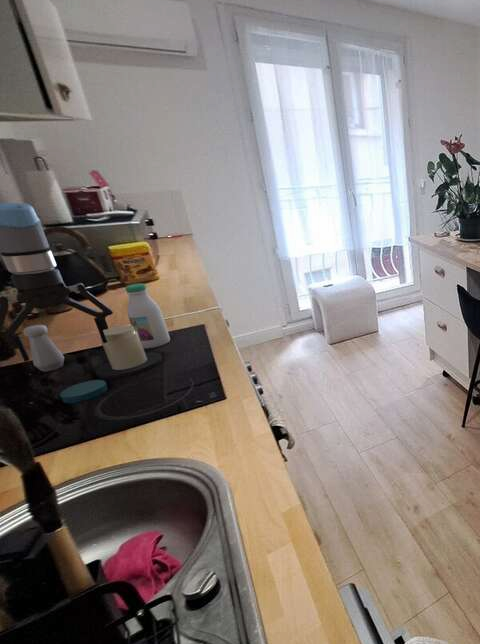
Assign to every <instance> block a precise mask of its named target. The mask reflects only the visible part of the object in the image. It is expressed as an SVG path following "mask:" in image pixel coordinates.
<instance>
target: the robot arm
mask: <svg viewBox="0 0 480 644" xmlns="http://www.w3.org/2000/svg"><path fill="white" fill-rule="evenodd" d="M41 222H42V221H41V219H40V218H39V217H38V215H37V213H36V211H35V209H34V207H33V206H32V205H30V204H28V203H21V202H18V203H16V202H15V203H14V202H8V203H7V202H6V203H0V255H1V257H2V259H3V262H4V264H5V266H6V268H7V271H8V272H9V273H11V275H10V277H11V280H12V282H13V284H14V287H15V289H16V291H17V293H16V294H3V293H1V294H0V338H4V339H6V342H7V344H8V347H9V348H10V349H11V350H17V349H18V350H19V352H20V354H21V356H22V359H23V361H24V362H28V361H30V355H29V353H28V351H27V349H26V347H25V345H24V342H23V340H22V338H21V336H20V333H19V332H17V331H18V330H19V328H20V327H21V326H22V324H23V323H24V322H25V320H26V319H27V318H28V317H29V315H30V314H31V313H32V312H33V311H34V309H39V310H43V309H48V308H56V307H60V306H61V305H66V306H68V307H72V308H73V309H76V310H78V311H81V312H82V313H85V314H87V315H89V316H92V317H93V320H94V323H95V325H96V328H97V331H98V333H99V336H100V338H102V341H103V343H107V340H106V337H105V334H104V332H103V331H105V330H108V329H109V326H108V323H107V320H106V318H107V317H109V316H112V315H113V314H114V312H113V310H112V308H110V307H109V306H108V305H107V304H105V303H104V302H103V301H101V300H100V299H98V298H97V297H96V296H94V294H93V293H90V292H89V291H88V290H87V288H86V286H85V285H84V284H83V283H82V282H77V283H76V284H74V285H69V286H67V285H66V283H65V282H64V280H63V277H62V275H61V272H60V270H59V268H57V262H56V260H55V257H54V255H53V254H54V253H53V252H52V250H51V248H50V244H49V242H48V239H47V236H46V234H45V230H44V228H43V225H42V223H41ZM70 292H74V293H75V294H80V295H81V296H83V297H84V298H85V299H86V300H87V301H89V302H90V303H91V304H93V305H94V306H95V307H97V308H98V309H99V310H101V311H99V310H97V309H94V308H92V307H90V306H88V305H85V304H84V303H81V302H79V301H78V300H75V299H73V298H71V297H68V296H69V294H70ZM16 300H18V301H20V302H22V303H24V305H23V306H22V309H21V310H20V311H19V312H18V314H17V315H16V316H15V317H14V319H13V320H12V322H11V323H10V324H8V326H7V327H6V329H3V326H4V323H5V321H6V317H7V314H8V311H9V306H10V305H13V304H14V302H15V301H16ZM2 329H3V330H2Z"/></svg>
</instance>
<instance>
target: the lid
mask: <svg viewBox="0 0 480 644" xmlns="http://www.w3.org/2000/svg"><path fill="white" fill-rule="evenodd" d="M108 389H109V387H108V385H107V382H106V381H105V380H104V379H94V380H93V379H92V380H88V381H83V382H79V383H76V384H74V385H71V386H69V387H67V388H65V389H63V390H62V391H61V392H60V394H59V396H60V399H61V400H62V402H63V403H65V404H76V403H82V402H85V401H89V400H92V399H95V398H97V397H99V396H101V395H103V394H105V393H106V392H107V391H108Z"/></svg>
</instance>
